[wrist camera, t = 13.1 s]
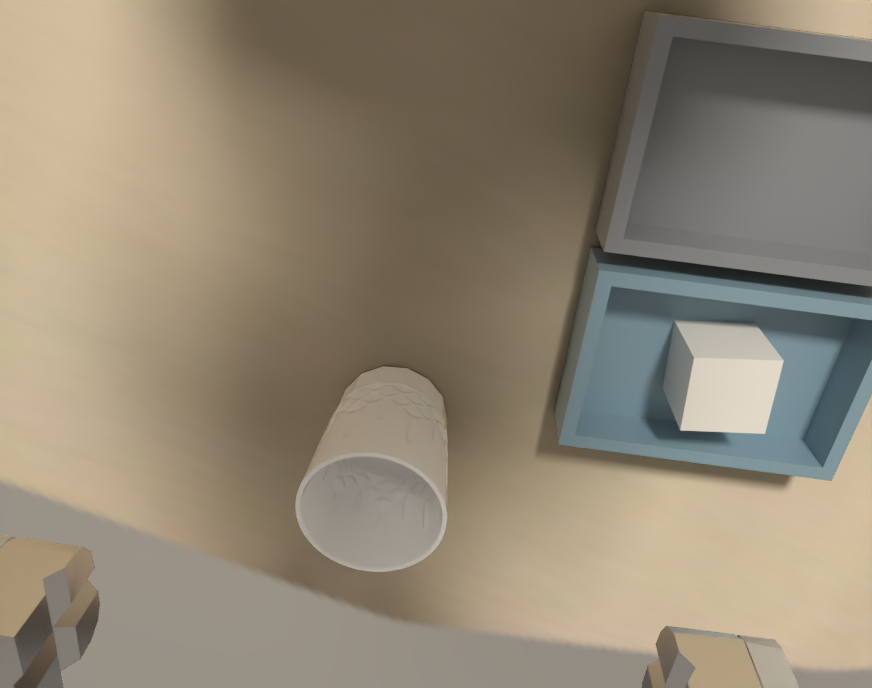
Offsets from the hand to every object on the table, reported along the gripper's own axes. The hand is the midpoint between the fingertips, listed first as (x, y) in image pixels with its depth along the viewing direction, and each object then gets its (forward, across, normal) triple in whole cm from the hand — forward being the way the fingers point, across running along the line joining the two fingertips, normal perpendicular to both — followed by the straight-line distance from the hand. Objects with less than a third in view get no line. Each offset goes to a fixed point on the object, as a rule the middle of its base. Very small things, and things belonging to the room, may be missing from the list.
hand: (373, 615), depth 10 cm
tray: (+31, -16, -2) cm, 35 cm away
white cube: (+30, -16, +10) cm, 36 cm away
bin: (+31, -16, +10) cm, 36 cm away
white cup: (+31, +2, +17) cm, 36 cm away
